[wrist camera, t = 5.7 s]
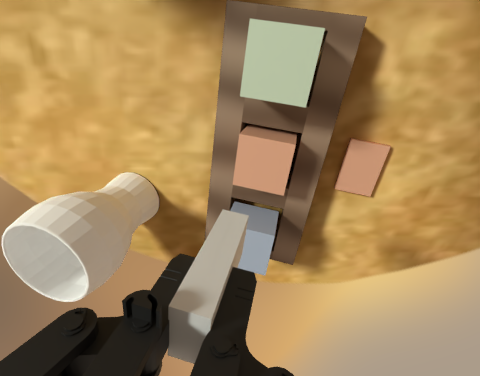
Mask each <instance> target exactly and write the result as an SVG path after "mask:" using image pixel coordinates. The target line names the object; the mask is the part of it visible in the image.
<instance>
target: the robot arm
mask: <svg viewBox="0 0 480 376" xmlns="http://www.w3.org/2000/svg"><path fill="white" fill-rule="evenodd" d="M248 218H249V215H245V214H240V213H236V212H232V211H228V210H222V212H221V213H220V215H219V217H218V219H217V221H216V222H215V224H214V226H213V228H212V229H211V231H210V233H209V235H208V237H207V238H206V240H205V242H204V244H203V246H202V247H201V249H200V251H199V253H198V254H197V256H196V258H195V257H191V256H188V255H184V254H179V255H178V256H176V257H175V258H173V259H172V260H171V261H170V263H169V264H168V266H167V267H166V269H165V270H164V272H163V273H162V274H161V277H159V279H158V280H157V282H156V283H155V285H154V286H153V288H152V289H151V291H150V290H140V291H136V292H134V293H132V294H130V295H128V296H127V297H126V298H125V299H124V300H123V301H122V303H123V312H124V316H120V317H99V318H97V315H96V313H95V312H94V311H93V310H91V309H88V308H76V309H74V310H70V311H68V312H66V313H65V314H63V315H61V316H60V317H58V318H57V319H56V320H54V321H53V322H52V323H50V324H49V325H48V326H47V327H45V328H44V329H43V330H42V331H40V332H39V333H37V334H36V335H35V336H33V337H32V338H31V339H29V340H28V341H27V342H25V343H24V344H23V345H21V346H20V347H19V348H18V349H16V350H15V351H13V352H12V353H11V354H9V355H8V356H7V357H5V358H4V359H3V360H2V361H0V376H158V375H159V373H160V371H161V367H162V359H163V357H164V355H165V353H166V351H167V349H168V355H169V356H172V357H175V358H178V359H181V360H184V361H187V362H191V363H193V364H194V367H193V370H192V372H191V375H190V376H294V375H293V374H292V373H290V372H289V371H288V370H286V369H284V368H280V367H271V368H267V367H266V366H264V365H263V364H261V363H260V362H259V361H257V360H256V359H255V358H254V357H253V356H252V354H251V353H250V352H249V350H248V347H247V345H246V339H245V338H246V330H247V325H248V321H249V316H250V311H251V307H252V302H253V297H254V292H255V287H256V283H257V281H256V278H255V274H254V272H251V271H247V270H243V269H239V268H238V265H239V262H240V259H241V256H242V252H243V246H244V240H245V235H246V229H247V223H248Z"/></svg>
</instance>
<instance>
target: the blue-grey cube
mask: <svg viewBox="0 0 480 376" xmlns="http://www.w3.org/2000/svg"><path fill="white" fill-rule="evenodd" d="M230 211H232V212H236V213H240V214H245V215H249V218H248V223H247V229H246V235H245V240H244V246H243V252H242V256H241V259H240V262H239V265H238V268H239V269H243V270H247V271H251V272H254V273H258V274H262V275H266V270H267V266H268V262H269V258H270V254H271V250H272V246H273V242H274V237H275V232H276V226H277V220H278V214H279V212H278V211H274V210H270V209H265V208H261V207H257V206H252V205H248V204H244V203H239V202H234V204H233V206H232V208H231V210H230Z"/></svg>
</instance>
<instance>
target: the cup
mask: <svg viewBox="0 0 480 376" xmlns="http://www.w3.org/2000/svg"><path fill="white" fill-rule="evenodd" d="M158 209H159V197H158V194H157V192H156V190H155V188H154V187H153V185H152V184H151V183H150V182H149V181H148V180H147V179H145V178H144V177H142V176H140V175H138V174H135V173H128V172H126V173H122V174H120V175H118V176H117V177H115V178H114V179H113V180H112V181H110V182H109V183H108V184H107V185H106V186H105V187H104V188H102V189H100V190H97V191H95V192H75V193H70V194H65V195H60V196H55V197H51V198H49V199H47V200H45V201H43V202H41V203H39V204H37V205H35V206H33V207H32V208H31V209H30V210H28V211H26V212H25V213H24V214H23V215H22V216H21V217H19V218H18V219H17V220H16V221H15V222H13V223H12V224H11V225H10V226H9V227H8V228H7V229H6V230H5V232H4V234H3V236H2V249H3V253H4V255H5V257H6V259H7V261H8V263H9V265H10V266H11V268H12V269H13V270H14V272H15V273H16V274H17V275H18V276H19V277H20V278H21V279H22V280H23V281H24V282H25V283H26V284H27V285H29V286H30V287H31V288H33V289H34V290H35V291H37V292H39V293H40V294H42V295H44V296H46V297H49V298H51V299H54V300H58V301H63V302H74V301H77V300H79V299H82V298H84V297H85V296H87V295H88V294H90V293H91V292H92V291H94V290H95V289H97V288H98V287H100V286H101V285H103V284H104V283H105V282H106V281H107V280H108V279H109V278H110V277H111V276H112V275H113V274H114V272H115V271H116V270H117V269H118V268H119V267H120V266H121V264H122V262H123V260H124V258H125V255H126V253H127V251H128V249H129V247H130V244H131V239H132V234H133V233H134V231H135V230H136V229H137V227H138V226H139V225H141V224H143V223H144V222H146V221H148V220H149V219H150V218H152V217H153V216H154V215H155V214H156V213H157V211H158Z"/></svg>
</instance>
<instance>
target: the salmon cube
mask: <svg viewBox="0 0 480 376" xmlns="http://www.w3.org/2000/svg"><path fill="white" fill-rule="evenodd" d="M296 138H297V133H295V132H289V131H284V130H278V129H273V128H268V127H262V126H257V125H252V124H249V125H248V126H247V127H246V128H245V129H244V130H243V131H242V132H241V133H240V134H239V140H238V148H237V155H236V162H235V170H234V177H233V184H232V185H237V186H241V187H246V188H250V189H255V190H260V191H264V192H269V193H273V194H278V195H282V196H284V192H285V188H286V184H287V180H288V176H289V172H290V167H291V163H292V159H293V155H294V151H295V147H296Z"/></svg>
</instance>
